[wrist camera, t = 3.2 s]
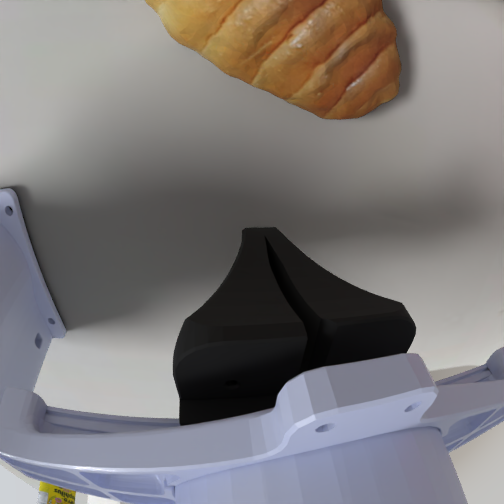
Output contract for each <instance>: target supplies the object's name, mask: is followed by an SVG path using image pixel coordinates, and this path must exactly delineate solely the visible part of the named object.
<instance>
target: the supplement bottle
mask: <svg viewBox="0 0 504 504" xmlns="http://www.w3.org/2000/svg"><path fill="white" fill-rule="evenodd" d="M75 494H76V491H73V490H69V489H66V488H62V487H59V486H55V485H52V484H49V483H45V482H42V481H40V487H39V495H38V503H37V504H75Z"/></svg>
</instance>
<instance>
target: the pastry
mask: <svg viewBox="0 0 504 504" xmlns="http://www.w3.org/2000/svg"><path fill="white" fill-rule="evenodd" d="M145 1H146V3H147V4H148V5H149V6H150V7H152V8H153V9H154V10H155V11H156V13H157V14H158V15H159V17H160V18H161V20H162V23H163V25H164V27H165V28H166V30H167V31H168V33H169V34H170V36H171V37H172V38H173V39H175V40H176V41H177V42H178V43H180V44H182V45H184V46H186V47H188V48H190V49H192V50H194V51H196V52H198V53H199V54H200V55H201V56H202V57H204V58H206V59H207V60H209V61H211V62H212V63H213V64H214V65H216V66H217V67H218V68H219V69H220V70H221V71H223V72H224V73H226V74H227V75H229V76H232V77H235V78H238V79H240V80H242V81H244V82H246V83H248V84H250V85H252V86H254V87H256V88H259V89H262V90H265V91H268V92H270V93H272V94H273V95H275V96H277V97H279V98H282V99H284V100H285V101H287V102H288V103H291V104H293V105H296V106H298V107H300V108H302V109H304V110H307V111H309V112H312V113H313V114H315V115H317V116H318V117H320V118H324V119H340V120H341V119H352V118H359V117H362V116H364V115H366V114H367V113H369V112H371V111H372V110H374V109H375V108H377V107H378V106H379V105H381V104H382V103H386V102H388V101H390V100H392V99H393V98H394V97H395V96H396V95H397V94H398V91H399V75H400V72H401V62H400V58H399V54H398V50H397V46H396V36H397V30H396V28H395V26H394V23H393V22H392V21H391V20H390V19H389V18H388V16H387V15H386V14H385V13H384V11H383V5H382V0H145Z"/></svg>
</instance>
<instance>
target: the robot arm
mask: <svg viewBox="0 0 504 504" xmlns="http://www.w3.org/2000/svg"><path fill="white" fill-rule="evenodd" d="M9 206H10V207H11V208H12V210H13V212H12V211H11V210H10V208H9ZM65 334H66V329H65V327H64V325H63V322H62V320H61V318H60V316H59V314H58V312H57V309H56V307H55V305H54V303H53V300H52V298H51V296H50V293H49V291H48V288H47V286H46V283H45V281H44V278H43V276H42V273H41V271H40V268H39V265H38V262H37V260H36V257H35V254H34V251H33V248H32V245H31V242H30V239H29V236H28V233H27V230H26V226H25V223H24V220H23V216H22V213H21V209H20V205H19V201H18V198H17V195H16V193H15V192H14V190H12V189H11V188H6V189H0V458H1V459H2V460H4V461H5V462H6V463H8V464H9V465H11V466H12V467H14V468H15V469H17V470H18V471H20V472H21V473H23V474H24V475H26V476H28V477H30V478H33V479H36V480H39V481H42V482H45V483H49V484H52V485H55V486H59V487H62V488H66V489H69V490H73V491H77V492H80V493H84V494H88V495H92V496H96V497H101V498H105V499H110V500H114V501H119V502H125V503H130V504H468V503H467V500H466V498H465V495H464V492H463V489H462V486H461V484H460V481H459V478H458V476H457V473H456V470H455V468H454V465H453V463H452V460H451V458H450V455H449V452H451V451H453V450H455V449H457V448H459V447H460V446H462V445H464V444H466V443H467V442H469V441H471V440H473V439H474V438H476V437H478V436H479V435H481V434H483V433H485V432H486V431H488V430H489V429H491V428H493V427H495V426H496V425H498V424H499V423H501V422H503V421H504V347H502V348H500V349H498V350H496V351H495V352H494V353H493V354H492V355H491V356H490V358H489V359H488V360H487V362H486V364H484V365H481V366H479V367H476V368H474V369H471V370H468V371H465V372H463V373H460V374H457V375H454V376H451V377H448V378H445V379H442V380H439V381H436V382H434V380H433V378H432V376H431V375H430V372H429V370H428V369H427V367H426V365H425V363H424V361H423V359H422V358H421V357H420V356H419V355H418V354H415V353H407V351H408V349H409V348H410V346H411V344H412V342H413V339H414V337H415V334H416V326H415V323H414V321H413V319H412V318H411V316H410V315H409V313H408V311H407V310H406V308H405V307H404V305H403V304H402V303H401V302H397V301H394V300H391V299H388V298H384V297H381V296H378V295H375V294H373V293H370V292H368V291H365V290H363V289H360V288H358V287H356V286H354V285H352V284H350V283H348V282H346V281H344V280H342V279H340V278H338V277H337V276H335V275H333V274H332V273H330V272H329V271H327V270H325V269H324V268H322V267H321V266H319V265H318V264H317V263H315V262H314V261H313V260H311V259H310V258H309V257H308V256H306V255H305V254H304V253H303V252H302V251H300V250H299V249H298V248H297V247H296V246H295V245H294V244H293V243H291V242H290V241H289V240H288V239H287V238H286V237H285V236H284V235H283V234H282V233H281V232H280V231H279V230H278V229H277V228H276V227H270V228H244V229H243V230H242V243H241V246H240V249H239V252H238V255H237V257H236V260H235V262H234V264H233V266H232V268H231V270H230V272H229V273H228V275H227V277H226V278H225V280H224V281H223V283H222V284H221V285H220V287H219V288H218V289H217V291H216V292H215V293H214V294H213V295H212V296H211V297H210V298H209V299H208V300H207V302H206V303H205V304H204V305H203V306H202V307H200V308H199V309H198V310H197V311H196V312H194V313H193V314H192V315H191V316H189V317H188V318H187V319H185V321H184V323H183V326H182V328H181V331H180V333H179V336H178V339H177V342H176V346H175V350H174V356H173V377H174V380H175V384H176V387H177V391H178V394H179V398H180V410H179V419H170V418H144V417H129V416H116V415H106V414H97V413H89V412H81V411H74V410H68V409H62V408H56V407H50V406H47V405H46V403H45V402H44V400H43V399H42V398H41V397H40V396H39V395H37V394H36V393H34V392H33V391H34V387H35V384H36V381H37V378H38V375H39V373H40V370H41V367H42V364H43V361H44V359H45V356H46V353H47V351H48V348H49V345H50V343H51V340H52V338H64V337H65Z"/></svg>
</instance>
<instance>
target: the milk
mask: <svg viewBox="0 0 504 504" xmlns="http://www.w3.org/2000/svg"><path fill="white" fill-rule="evenodd" d="M88 504H130V503H125V502H119V501H114V500H110V499H105V498H101V497H96V496H92V495H88Z"/></svg>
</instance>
